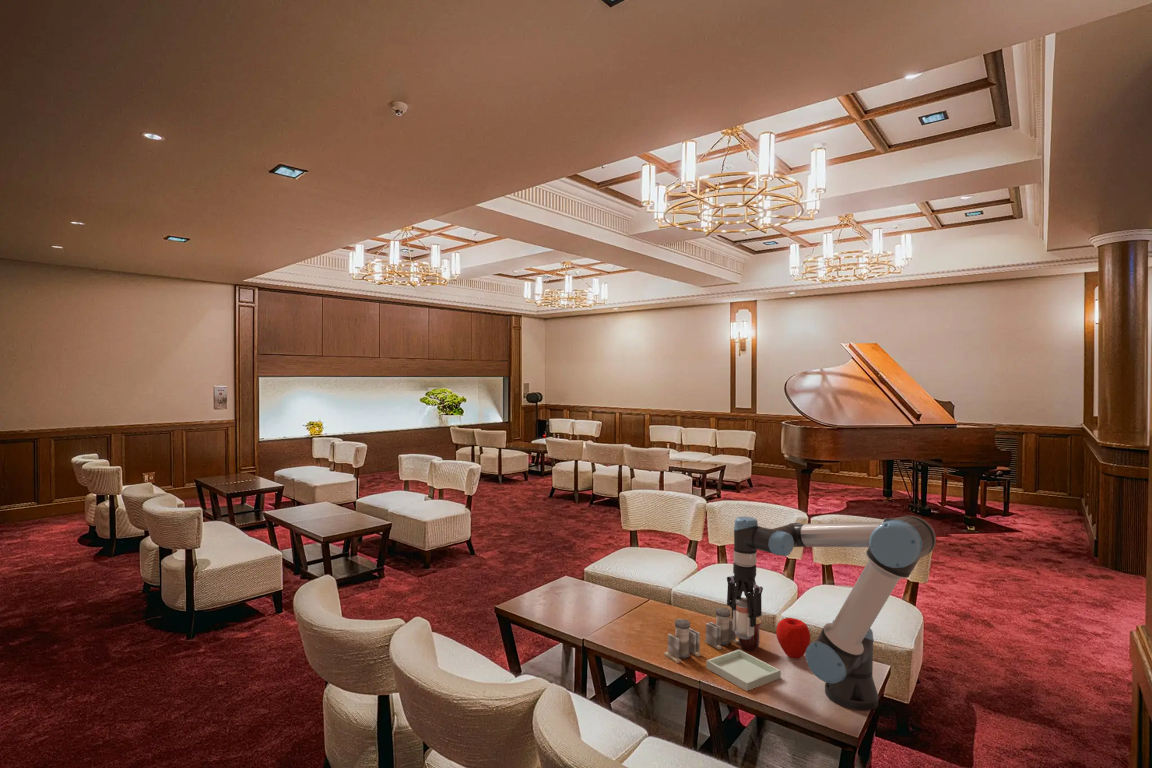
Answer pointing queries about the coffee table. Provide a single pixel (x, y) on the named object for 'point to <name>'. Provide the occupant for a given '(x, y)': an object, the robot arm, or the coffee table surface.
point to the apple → (793, 637)
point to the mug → (752, 638)
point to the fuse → (741, 618)
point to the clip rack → (690, 638)
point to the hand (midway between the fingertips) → (743, 632)
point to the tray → (743, 669)
